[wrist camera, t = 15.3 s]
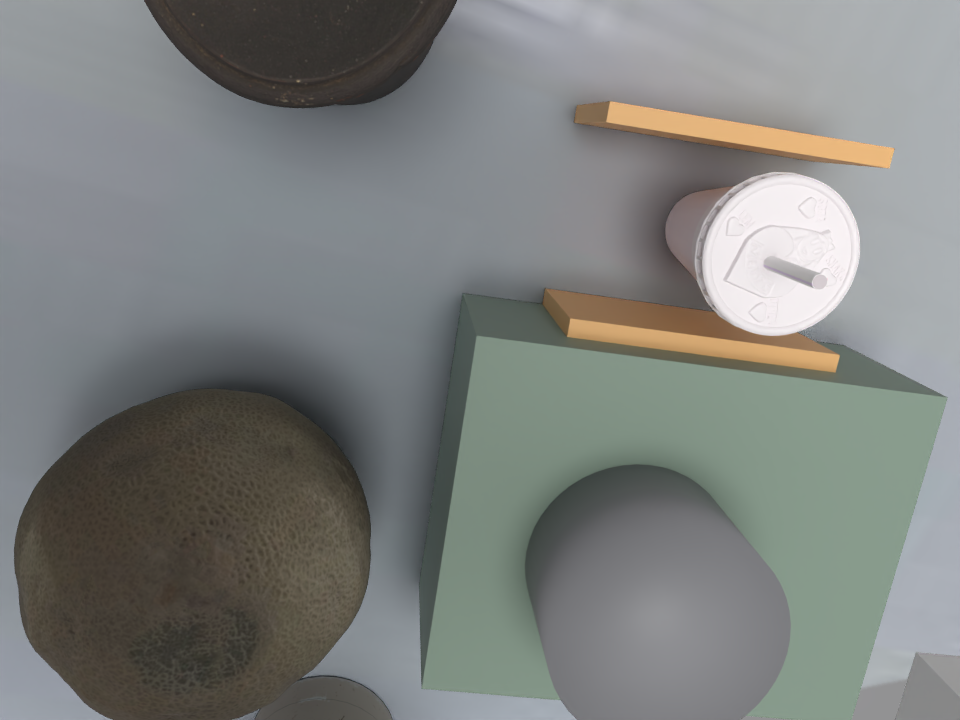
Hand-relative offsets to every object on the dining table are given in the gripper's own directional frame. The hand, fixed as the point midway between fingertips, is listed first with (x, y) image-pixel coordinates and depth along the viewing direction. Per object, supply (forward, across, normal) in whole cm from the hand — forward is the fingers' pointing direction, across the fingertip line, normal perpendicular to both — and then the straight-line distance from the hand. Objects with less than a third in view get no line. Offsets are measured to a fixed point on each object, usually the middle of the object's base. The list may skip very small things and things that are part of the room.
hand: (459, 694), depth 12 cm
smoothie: (+32, -13, -5) cm, 35 cm away
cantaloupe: (+32, +8, +11) cm, 35 cm away
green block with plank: (+32, -12, +3) cm, 34 cm away
